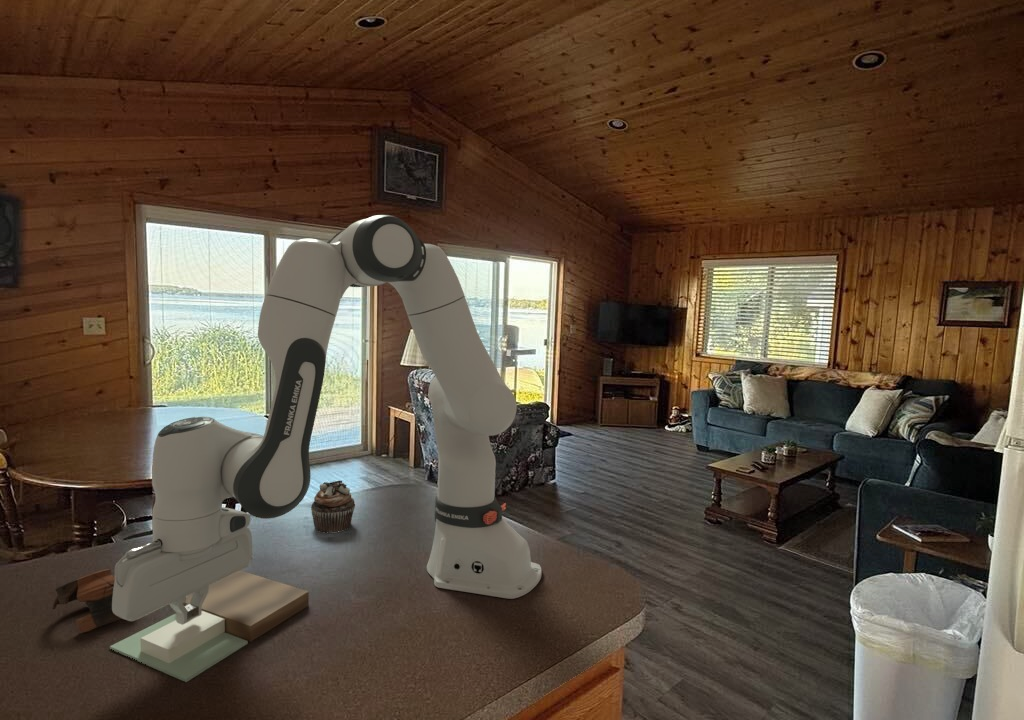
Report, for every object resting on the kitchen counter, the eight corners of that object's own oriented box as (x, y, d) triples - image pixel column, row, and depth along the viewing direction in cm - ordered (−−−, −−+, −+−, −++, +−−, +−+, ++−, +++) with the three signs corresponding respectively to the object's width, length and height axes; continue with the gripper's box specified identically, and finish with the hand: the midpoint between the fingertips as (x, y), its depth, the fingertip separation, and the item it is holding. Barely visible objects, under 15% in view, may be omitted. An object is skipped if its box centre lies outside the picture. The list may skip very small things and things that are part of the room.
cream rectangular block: (197, 621, 91) (197, 609, 91) (224, 631, 89) (224, 619, 88) (140, 651, 83) (140, 638, 83) (169, 663, 80) (168, 649, 80)
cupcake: (303, 524, 132) (303, 482, 132) (342, 515, 139) (343, 474, 138) (321, 538, 126) (322, 493, 125) (362, 527, 132) (363, 485, 131)
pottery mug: (55, 645, 85) (41, 591, 86) (71, 641, 93) (57, 591, 94) (149, 606, 91) (134, 555, 92) (156, 605, 99) (142, 558, 100)
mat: (247, 643, 86) (247, 641, 86) (186, 682, 77) (186, 679, 77) (174, 616, 93) (174, 613, 93) (109, 649, 84) (109, 646, 84)
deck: (308, 605, 98) (308, 591, 98) (250, 642, 87) (250, 626, 87) (239, 583, 104) (239, 570, 104) (177, 614, 93) (177, 600, 93)
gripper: (130, 561, 74) (132, 663, 75) (259, 511, 93) (258, 594, 94) (99, 550, 77) (102, 649, 78) (230, 504, 95) (230, 585, 97)
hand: (188, 619), depth 86 cm, fingers closed
